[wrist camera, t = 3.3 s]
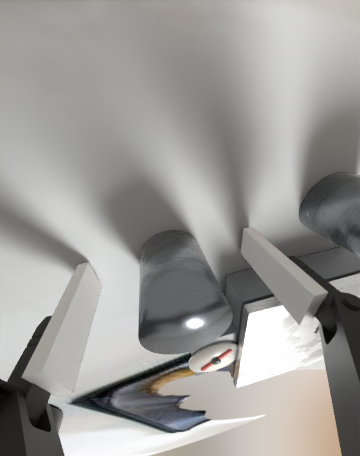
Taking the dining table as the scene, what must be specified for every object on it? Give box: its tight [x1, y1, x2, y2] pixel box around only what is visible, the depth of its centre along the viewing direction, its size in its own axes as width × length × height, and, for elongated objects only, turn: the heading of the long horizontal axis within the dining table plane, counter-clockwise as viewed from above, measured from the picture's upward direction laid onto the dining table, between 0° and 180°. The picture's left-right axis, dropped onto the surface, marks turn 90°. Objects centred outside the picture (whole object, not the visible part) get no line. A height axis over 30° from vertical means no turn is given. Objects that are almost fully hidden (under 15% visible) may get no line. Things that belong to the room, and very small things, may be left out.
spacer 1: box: [138, 230, 233, 354], centre depth 11 cm, size 5×5×6 cm
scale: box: [189, 247, 360, 378], centre depth 20 cm, size 20×18×4 cm
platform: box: [233, 273, 360, 388], centre depth 18 cm, size 14×18×1 cm
